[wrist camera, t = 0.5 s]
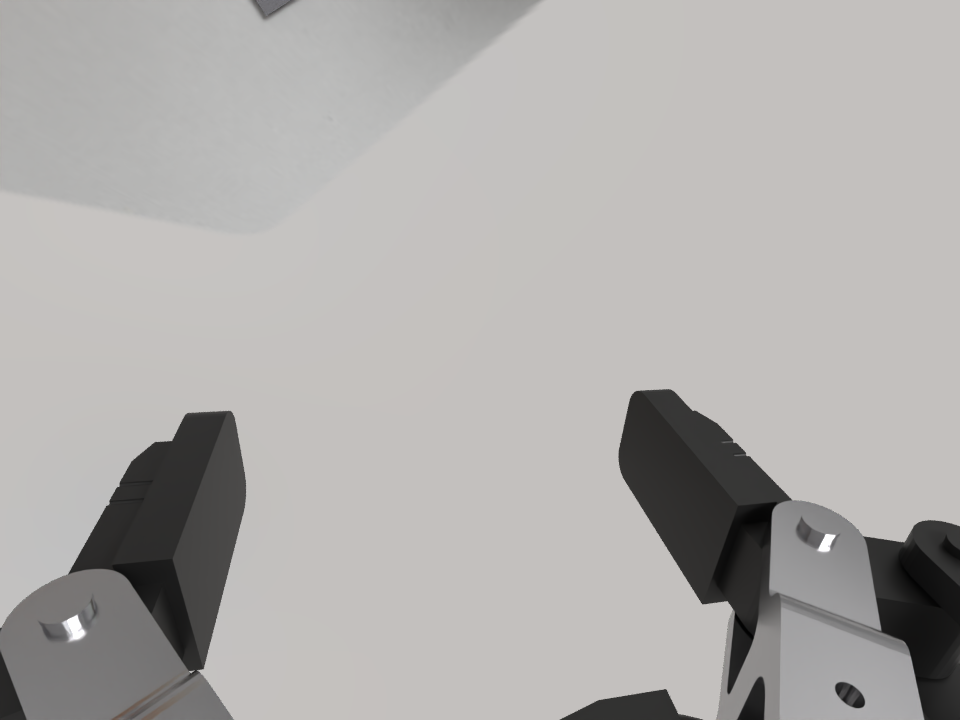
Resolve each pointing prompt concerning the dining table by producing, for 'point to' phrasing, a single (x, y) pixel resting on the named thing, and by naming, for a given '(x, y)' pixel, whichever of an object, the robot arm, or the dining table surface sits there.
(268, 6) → the mat
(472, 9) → the dining table surface
